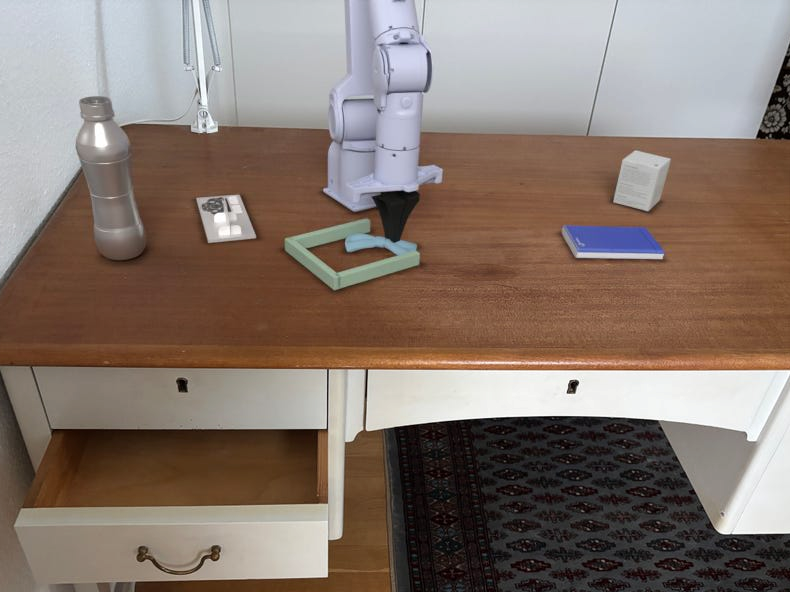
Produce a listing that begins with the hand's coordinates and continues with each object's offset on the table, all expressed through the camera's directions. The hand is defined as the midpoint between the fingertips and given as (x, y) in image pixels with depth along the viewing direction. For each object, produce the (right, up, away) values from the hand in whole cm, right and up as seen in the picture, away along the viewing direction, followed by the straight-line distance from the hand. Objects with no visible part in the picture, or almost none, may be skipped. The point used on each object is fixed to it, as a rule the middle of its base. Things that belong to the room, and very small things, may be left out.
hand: (392, 239), depth 100 cm
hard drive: (+32, -1, +4) cm, 32 cm away
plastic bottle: (-36, -3, -5) cm, 36 cm away
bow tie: (-2, -1, 0) cm, 2 cm away
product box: (+40, +9, +18) cm, 45 cm away
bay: (-5, -3, -3) cm, 7 cm away
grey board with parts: (-25, +4, +6) cm, 26 cm away
